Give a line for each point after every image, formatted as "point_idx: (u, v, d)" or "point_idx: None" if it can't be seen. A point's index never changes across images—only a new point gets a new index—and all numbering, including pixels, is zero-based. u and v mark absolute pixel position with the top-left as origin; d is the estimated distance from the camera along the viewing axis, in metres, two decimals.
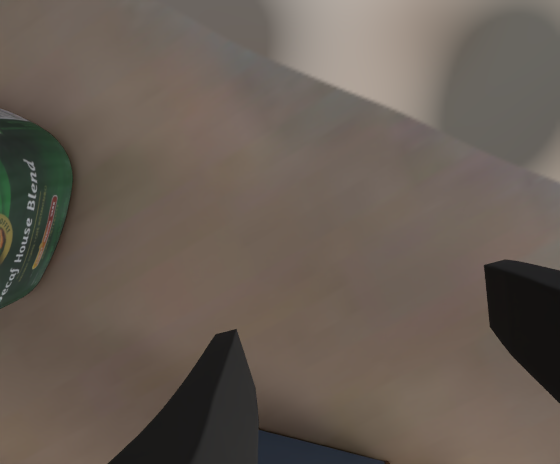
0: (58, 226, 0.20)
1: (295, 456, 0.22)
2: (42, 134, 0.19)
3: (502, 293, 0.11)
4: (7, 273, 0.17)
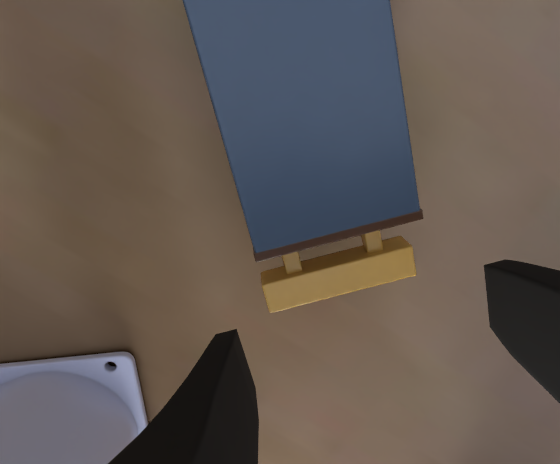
0: None
1: None
2: None
3: (502, 293, 0.11)
4: None
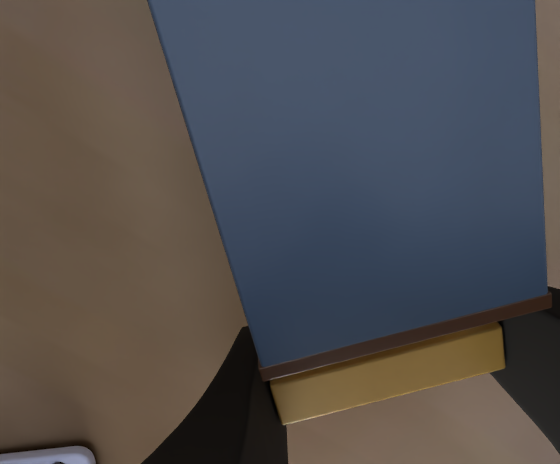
0: None
1: None
2: None
3: None
4: None
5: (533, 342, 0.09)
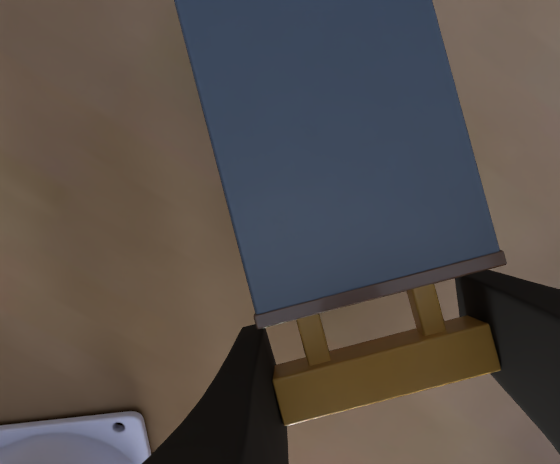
0: None
1: None
2: None
3: (471, 301, 0.11)
4: None
5: (533, 342, 0.09)
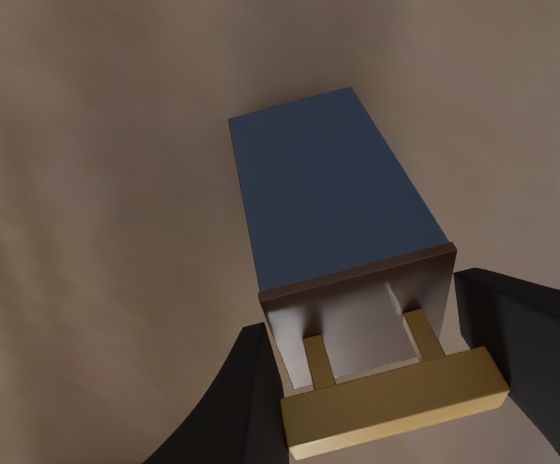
0: None
1: None
2: None
3: (470, 301, 0.11)
4: None
5: (532, 342, 0.09)
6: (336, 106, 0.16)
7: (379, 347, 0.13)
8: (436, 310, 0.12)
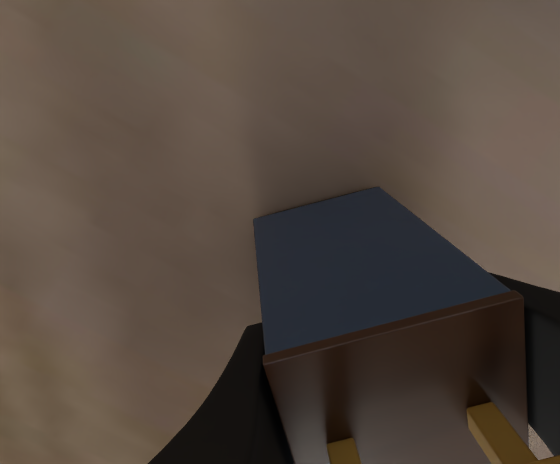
0: None
1: None
2: None
3: None
4: None
5: (527, 344, 0.09)
6: (364, 199, 0.15)
7: None
8: (515, 409, 0.09)
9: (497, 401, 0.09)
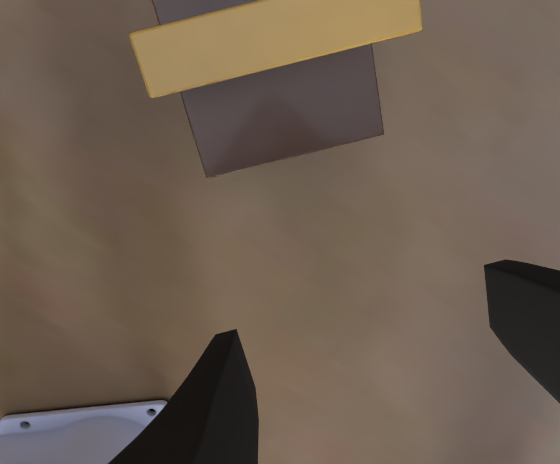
0: None
1: None
2: None
3: (502, 293, 0.11)
4: None
5: None
6: None
7: (302, 99, 0.11)
8: None
9: None
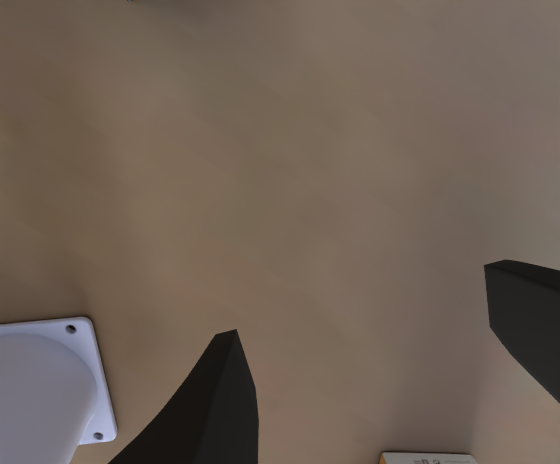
0: None
1: None
2: None
3: (502, 293, 0.11)
4: None
5: None
6: None
7: None
8: None
9: None
